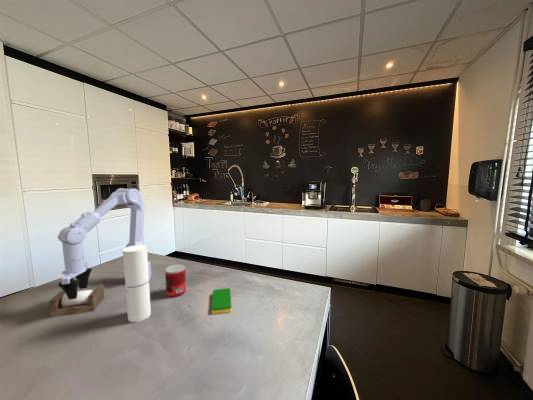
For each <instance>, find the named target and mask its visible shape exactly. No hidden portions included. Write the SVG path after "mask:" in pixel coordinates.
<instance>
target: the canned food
mask: <svg viewBox="0 0 533 400" xmlns="http://www.w3.org/2000/svg"><path fill="white" fill-rule="evenodd" d="M164 272H165V273H164V274H165V275H164V276H165V290H166V295H167V297H169V298H177V297H179V296H183V295H184V294H185V292H186V290H187V282H186V279H187V278H186V267H185V265H184V264H172V265H170V266H168V267H166V268H165V269H164Z"/></svg>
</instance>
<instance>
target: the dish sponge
mask: <svg viewBox="0 0 533 400" xmlns="http://www.w3.org/2000/svg"><path fill="white" fill-rule="evenodd" d="M231 297H232V296H231V288H230V287H229V288H221V289H219V288H218V289H213V290H212V299H211V301H212V302H211V314H212V315H216V314H217V315H218V314H225V313H231V312H232V298H231Z"/></svg>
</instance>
